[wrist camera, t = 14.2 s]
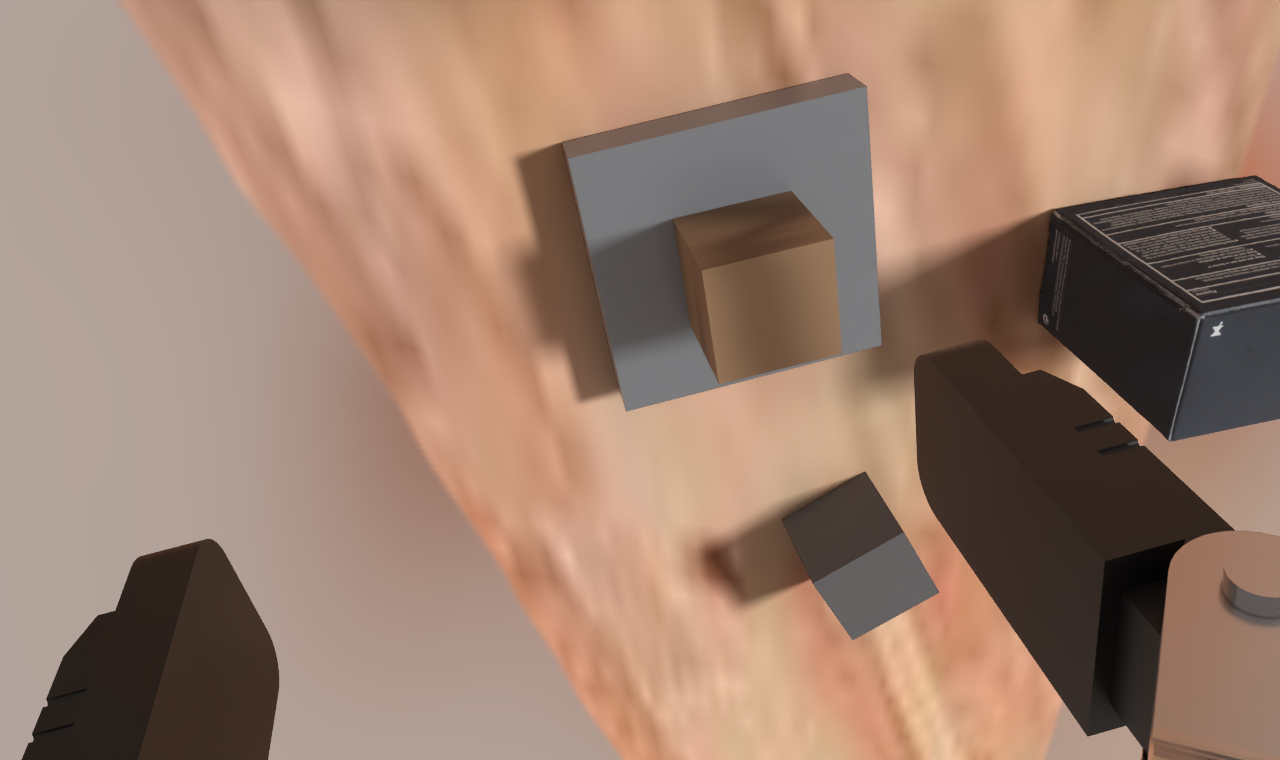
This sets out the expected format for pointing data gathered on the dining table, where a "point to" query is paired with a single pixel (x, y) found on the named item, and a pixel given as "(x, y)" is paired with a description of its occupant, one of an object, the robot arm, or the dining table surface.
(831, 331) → the walnut cube
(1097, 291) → the small box
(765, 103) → the slate coaster
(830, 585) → the charcoal block
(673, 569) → the dining table surface
